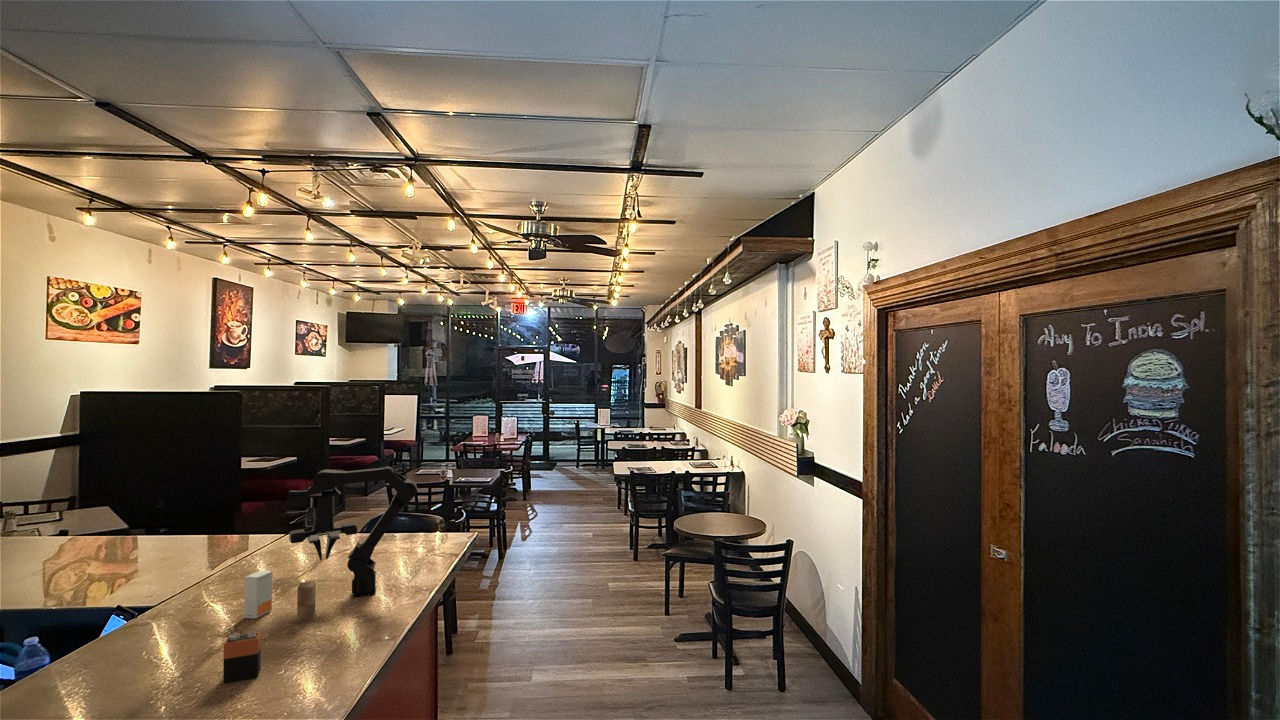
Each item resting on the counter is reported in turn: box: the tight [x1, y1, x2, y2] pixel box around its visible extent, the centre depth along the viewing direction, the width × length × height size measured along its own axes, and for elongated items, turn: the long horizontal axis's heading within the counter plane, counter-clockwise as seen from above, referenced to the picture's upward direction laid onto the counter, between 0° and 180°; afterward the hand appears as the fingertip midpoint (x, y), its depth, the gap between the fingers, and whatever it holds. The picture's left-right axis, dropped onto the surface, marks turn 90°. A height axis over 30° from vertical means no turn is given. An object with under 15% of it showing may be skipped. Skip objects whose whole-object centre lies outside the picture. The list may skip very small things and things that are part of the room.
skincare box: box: [243, 570, 274, 620], centre depth 176 cm, size 6×4×12 cm
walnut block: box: [296, 581, 317, 624], centre depth 172 cm, size 4×4×10 cm
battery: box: [222, 631, 262, 684], centre depth 140 cm, size 4×7×10 cm, turn 114°
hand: (323, 559), depth 189 cm, fingers closed
